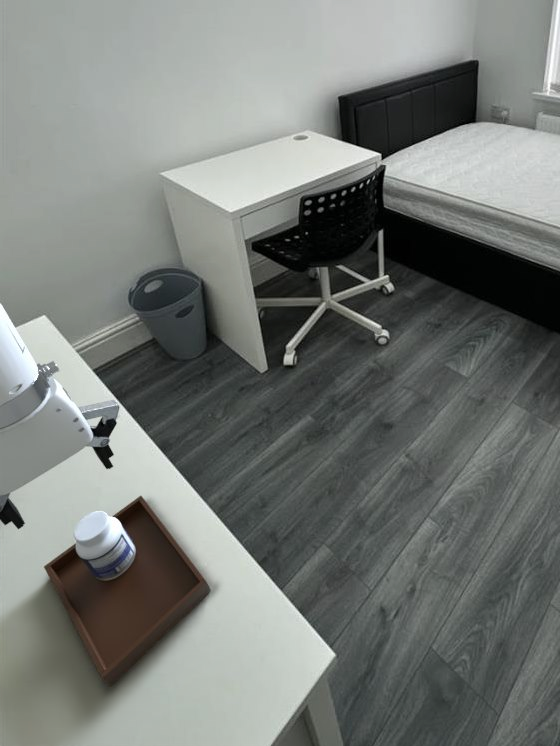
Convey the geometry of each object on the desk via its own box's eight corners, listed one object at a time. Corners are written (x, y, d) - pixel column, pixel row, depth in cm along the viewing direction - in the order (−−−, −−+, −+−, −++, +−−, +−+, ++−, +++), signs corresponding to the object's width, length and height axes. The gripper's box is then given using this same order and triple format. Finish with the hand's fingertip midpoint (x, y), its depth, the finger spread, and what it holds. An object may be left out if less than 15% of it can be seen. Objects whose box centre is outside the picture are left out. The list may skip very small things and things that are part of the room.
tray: (51, 576, 68) (43, 566, 66) (146, 504, 76) (141, 495, 75) (110, 686, 58) (102, 678, 56) (211, 590, 66) (206, 581, 65)
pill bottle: (95, 552, 70) (69, 516, 64) (136, 534, 72) (114, 498, 67) (92, 589, 66) (64, 554, 60) (136, 570, 68) (113, 534, 62)
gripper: (79, 337, 58) (123, 427, 67) (-120, 431, 46) (-33, 524, 56) (105, 367, 54) (149, 458, 63) (-104, 478, 42) (-13, 569, 52)
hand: (64, 489), depth 59 cm, fingers open, 9 cm apart
